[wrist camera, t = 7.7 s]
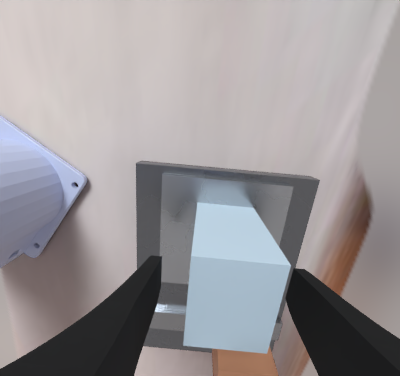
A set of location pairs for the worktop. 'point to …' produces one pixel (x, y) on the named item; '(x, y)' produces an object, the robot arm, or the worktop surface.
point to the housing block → (233, 280)
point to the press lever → (243, 363)
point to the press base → (185, 222)
